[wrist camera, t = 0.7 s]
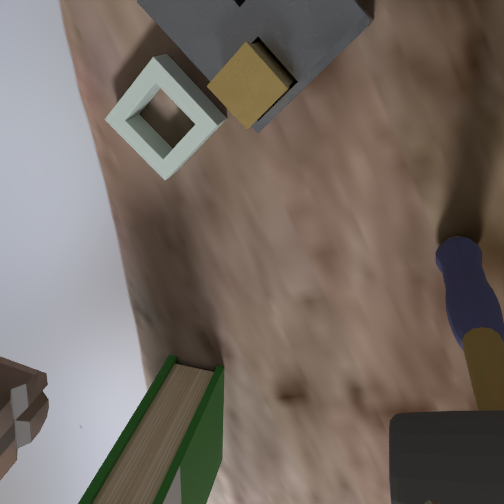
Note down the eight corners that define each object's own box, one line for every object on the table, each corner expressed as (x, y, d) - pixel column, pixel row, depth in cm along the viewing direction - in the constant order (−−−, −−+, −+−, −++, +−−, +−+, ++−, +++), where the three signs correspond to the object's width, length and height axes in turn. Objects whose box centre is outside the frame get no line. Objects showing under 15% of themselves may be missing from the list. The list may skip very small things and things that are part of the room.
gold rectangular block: (264, 36, 39) (245, 41, 34) (301, 77, 39) (288, 88, 34) (229, 75, 41) (206, 86, 36) (264, 113, 42) (247, 129, 36)
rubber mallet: (531, 206, 42) (755, 528, 16) (527, 279, 45) (710, 646, 19) (385, 218, 46) (382, 495, 20) (391, 285, 49) (395, 598, 23)
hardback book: (169, 354, 62) (60, 532, 41) (224, 366, 60) (139, 556, 40) (174, 446, 70) (85, 632, 49) (222, 459, 69) (151, 655, 48)
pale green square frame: (166, 53, 44) (153, 56, 41) (227, 118, 45) (217, 125, 43) (119, 113, 48) (104, 119, 45) (176, 171, 49) (165, 180, 47)
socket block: (255, -126, 36) (237, -142, 32) (373, 19, 38) (371, 22, 34) (162, 1, 42) (136, 2, 38) (270, 120, 44) (258, 133, 40)
